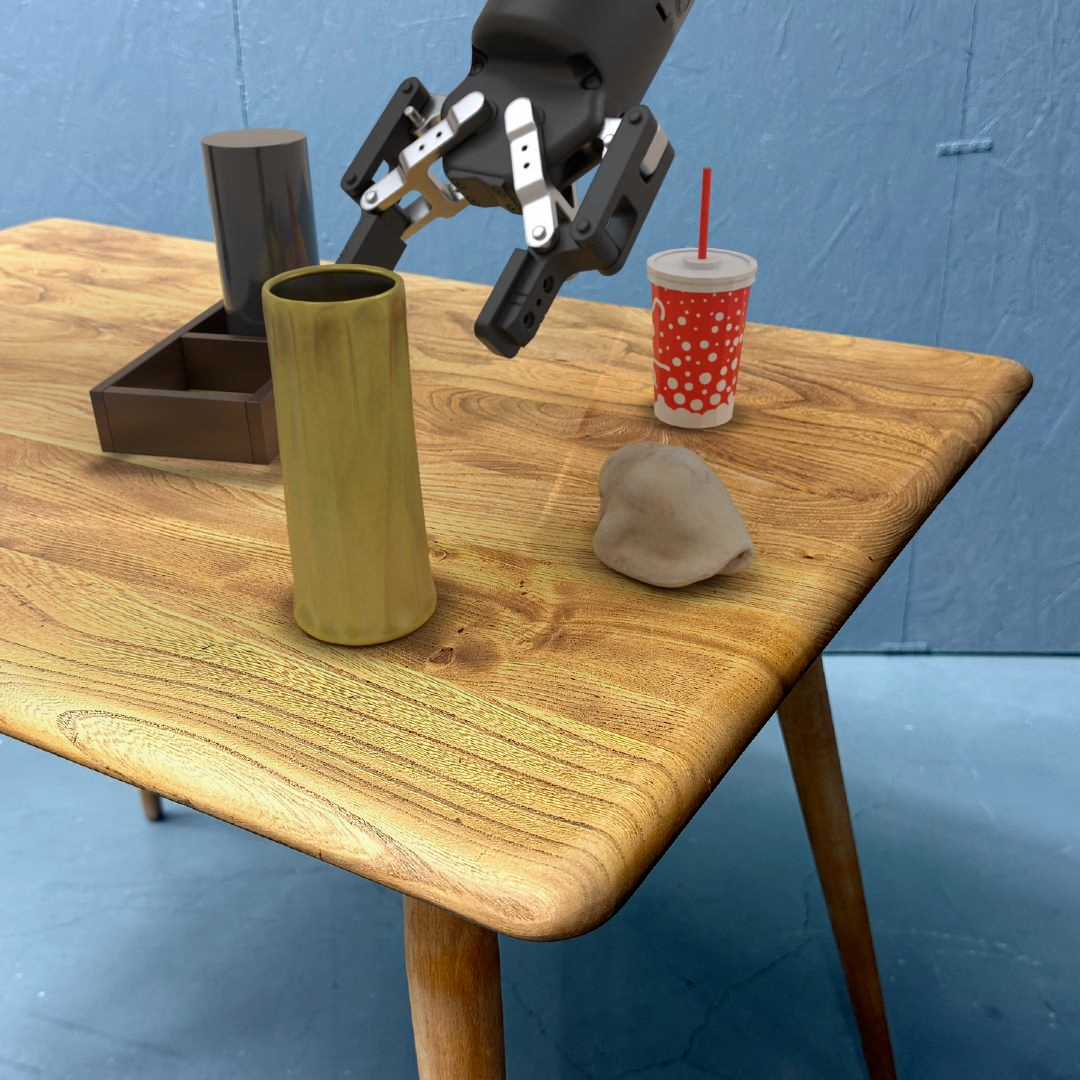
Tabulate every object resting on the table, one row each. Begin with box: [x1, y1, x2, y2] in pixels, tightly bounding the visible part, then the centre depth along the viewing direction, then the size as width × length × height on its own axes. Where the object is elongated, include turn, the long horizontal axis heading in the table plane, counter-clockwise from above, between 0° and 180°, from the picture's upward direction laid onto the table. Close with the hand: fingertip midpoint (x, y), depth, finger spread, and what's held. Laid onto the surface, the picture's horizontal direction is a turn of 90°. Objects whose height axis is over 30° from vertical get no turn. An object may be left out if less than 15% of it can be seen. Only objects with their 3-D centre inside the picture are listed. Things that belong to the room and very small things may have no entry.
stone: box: [592, 440, 756, 588], centre depth 53 cm, size 7×6×8 cm
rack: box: [88, 297, 280, 466], centre depth 69 cm, size 10×18×4 cm, turn 169°
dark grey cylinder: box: [199, 127, 321, 337], centre depth 70 cm, size 6×6×14 cm
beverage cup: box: [646, 166, 758, 429], centre depth 65 cm, size 6×6×14 cm
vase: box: [262, 263, 438, 647], centre depth 46 cm, size 6×6×14 cm
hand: (415, 324), depth 47 cm, fingers open, 8 cm apart
